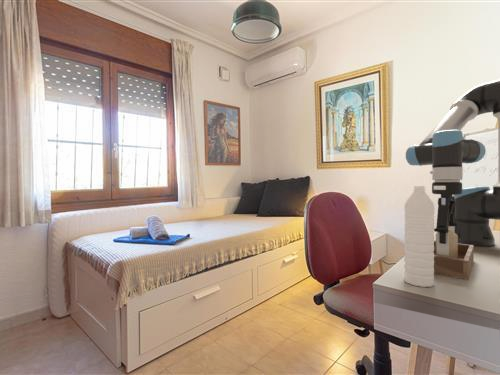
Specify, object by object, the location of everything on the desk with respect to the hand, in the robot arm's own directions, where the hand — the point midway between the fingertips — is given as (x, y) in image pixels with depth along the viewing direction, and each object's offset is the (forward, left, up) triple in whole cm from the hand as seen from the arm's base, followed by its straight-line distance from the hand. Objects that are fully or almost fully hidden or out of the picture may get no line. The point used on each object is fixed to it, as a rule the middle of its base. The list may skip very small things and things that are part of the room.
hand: (446, 250), depth 83 cm
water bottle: (+22, -4, -5) cm, 22 cm away
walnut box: (0, 0, -5) cm, 5 cm away
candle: (0, 0, -4) cm, 4 cm away
